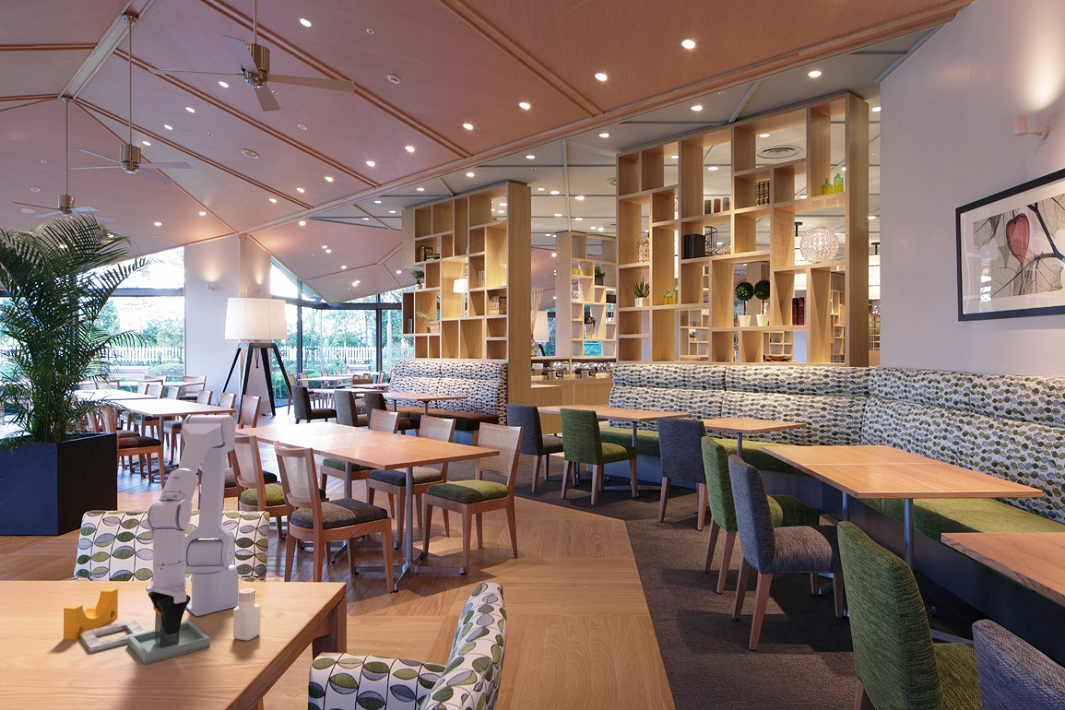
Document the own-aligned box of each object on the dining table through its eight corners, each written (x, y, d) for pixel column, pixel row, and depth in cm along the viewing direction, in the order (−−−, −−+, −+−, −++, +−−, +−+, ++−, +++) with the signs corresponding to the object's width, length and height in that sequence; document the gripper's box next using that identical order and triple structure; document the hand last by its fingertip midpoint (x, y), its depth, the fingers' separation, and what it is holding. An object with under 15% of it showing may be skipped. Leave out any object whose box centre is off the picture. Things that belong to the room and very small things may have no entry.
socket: (134, 624, 147) (134, 619, 147) (147, 638, 140) (147, 633, 140) (79, 637, 140) (79, 632, 140) (90, 652, 133) (90, 647, 133)
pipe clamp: (99, 616, 152) (99, 587, 152) (117, 617, 151) (117, 588, 151) (55, 639, 140) (55, 607, 140) (75, 640, 139) (75, 608, 139)
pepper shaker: (231, 639, 140) (231, 592, 140) (246, 631, 144) (246, 586, 144) (247, 642, 138) (247, 595, 138) (261, 634, 142) (261, 588, 142)
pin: (174, 635, 139) (176, 600, 139) (181, 642, 136) (182, 607, 136) (152, 640, 137) (153, 605, 136) (158, 648, 133) (159, 612, 133)
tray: (190, 629, 145) (190, 621, 145) (209, 646, 136) (209, 637, 136) (128, 645, 137) (128, 636, 137) (144, 664, 128) (144, 655, 128)
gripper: (136, 557, 139) (136, 624, 139) (157, 574, 128) (157, 646, 128) (174, 550, 144) (174, 615, 144) (197, 566, 133) (197, 636, 133)
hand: (168, 629), depth 136 cm, fingers closed on pin, 4 cm apart
